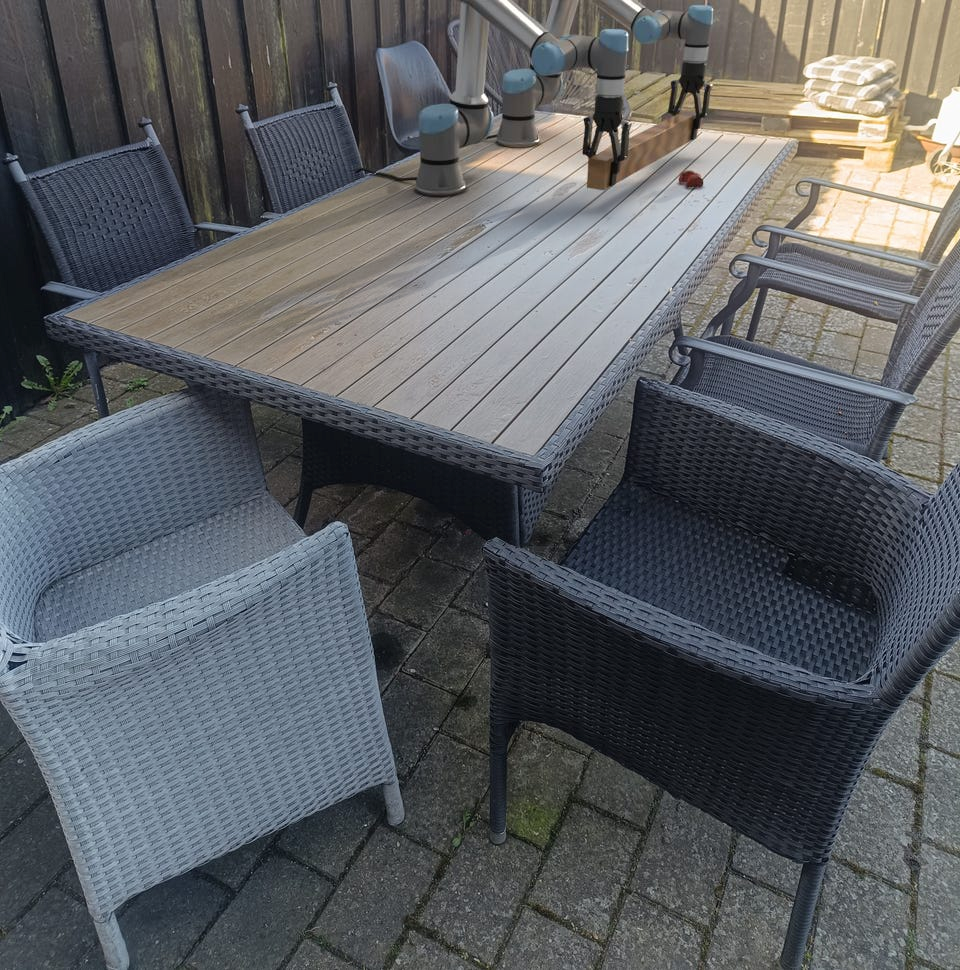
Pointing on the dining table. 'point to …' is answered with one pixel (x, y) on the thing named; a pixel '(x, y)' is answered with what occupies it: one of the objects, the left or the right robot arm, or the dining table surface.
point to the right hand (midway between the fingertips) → (684, 137)
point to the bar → (642, 150)
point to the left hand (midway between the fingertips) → (602, 183)
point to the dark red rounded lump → (691, 179)
